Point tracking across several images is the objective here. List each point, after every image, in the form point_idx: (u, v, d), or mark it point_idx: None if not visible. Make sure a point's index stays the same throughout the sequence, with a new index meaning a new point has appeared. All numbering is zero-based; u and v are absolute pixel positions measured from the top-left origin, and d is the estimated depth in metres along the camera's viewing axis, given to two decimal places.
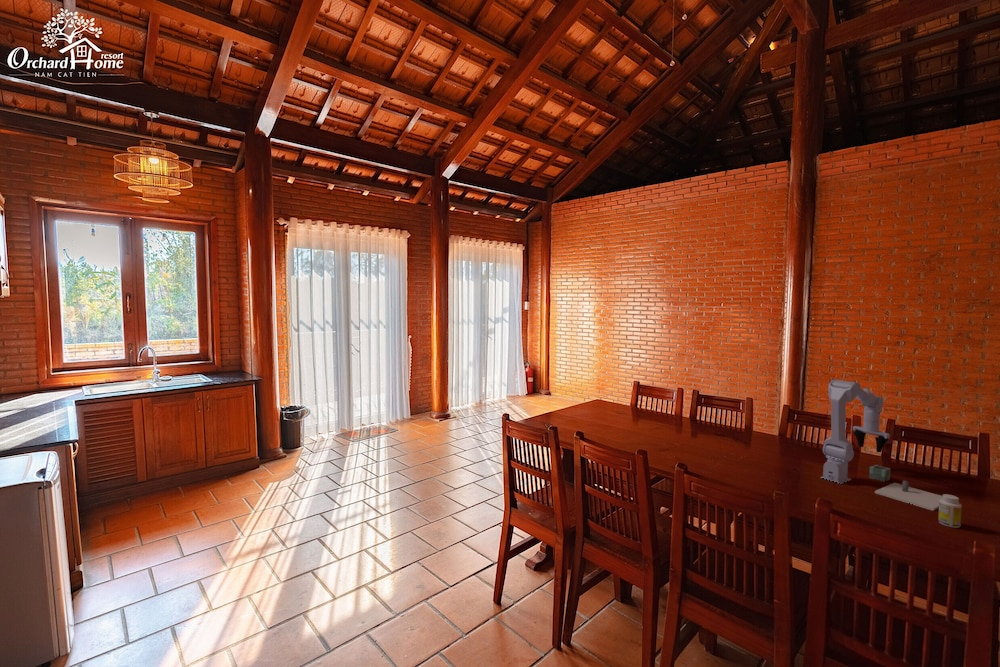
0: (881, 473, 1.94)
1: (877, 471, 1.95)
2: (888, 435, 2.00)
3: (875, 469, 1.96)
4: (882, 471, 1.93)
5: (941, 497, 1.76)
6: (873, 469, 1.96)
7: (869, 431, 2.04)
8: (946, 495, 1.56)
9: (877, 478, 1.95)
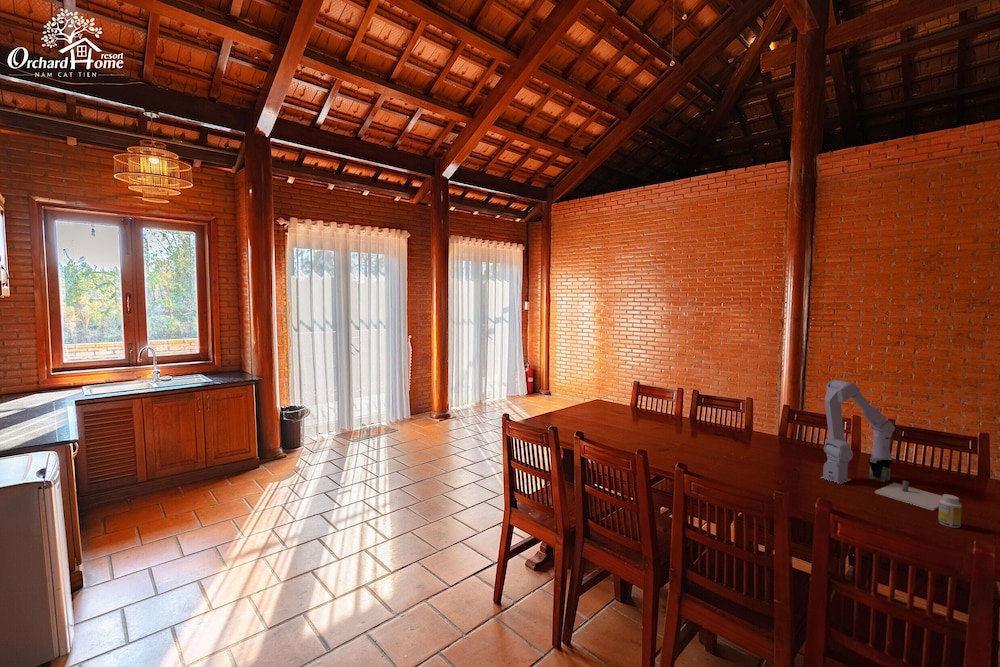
0: (881, 473, 1.94)
1: None
2: (873, 459, 1.92)
3: None
4: (882, 471, 1.93)
5: (941, 497, 1.76)
6: None
7: None
8: (946, 495, 1.56)
9: (877, 478, 1.95)
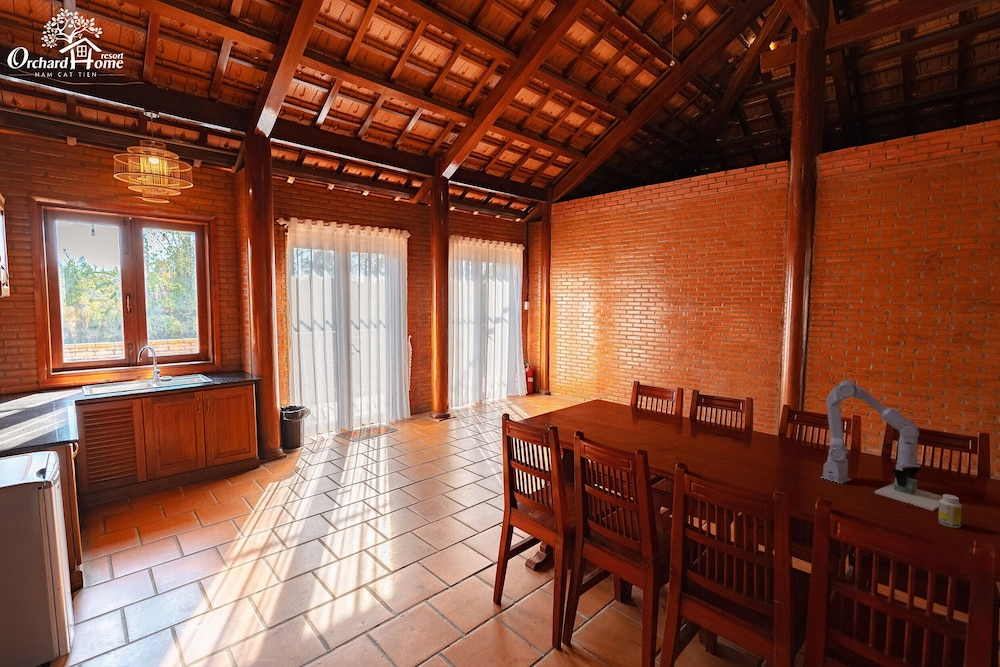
0: (907, 485, 1.79)
1: None
2: (899, 466, 1.77)
3: None
4: (909, 483, 1.79)
5: (941, 497, 1.76)
6: None
7: (897, 461, 1.83)
8: (946, 495, 1.56)
9: (903, 490, 1.80)
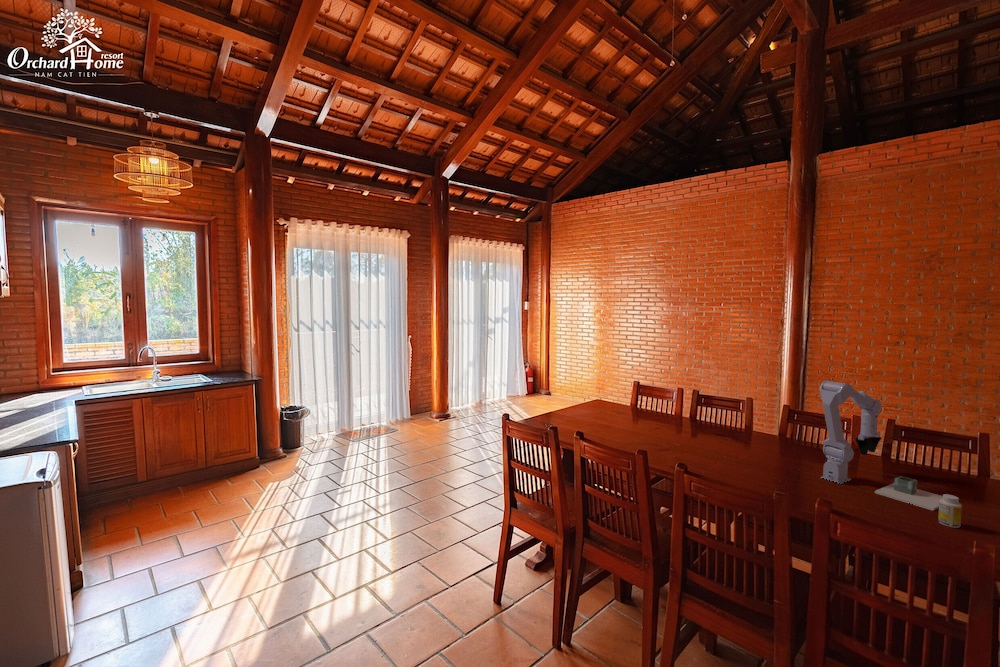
0: (907, 485, 1.79)
1: (903, 483, 1.80)
2: (861, 436, 1.99)
3: (901, 481, 1.81)
4: (909, 483, 1.79)
5: (941, 497, 1.76)
6: (898, 481, 1.81)
7: (860, 432, 2.04)
8: (946, 495, 1.56)
9: (903, 490, 1.80)
